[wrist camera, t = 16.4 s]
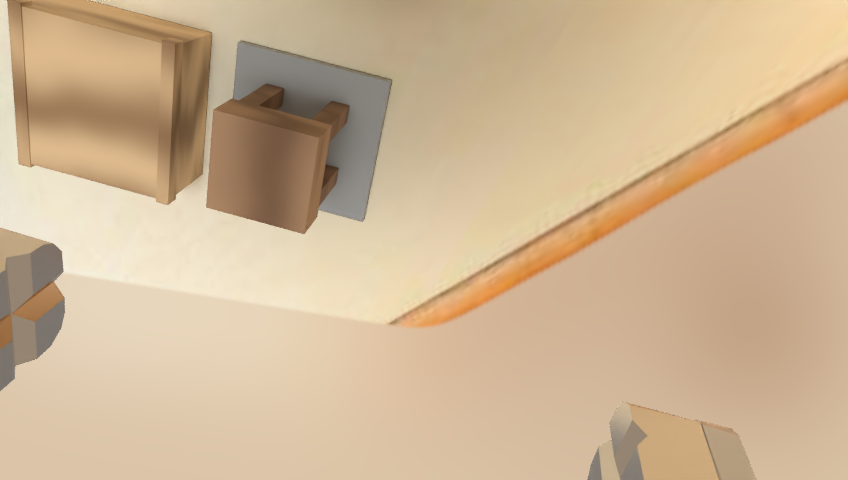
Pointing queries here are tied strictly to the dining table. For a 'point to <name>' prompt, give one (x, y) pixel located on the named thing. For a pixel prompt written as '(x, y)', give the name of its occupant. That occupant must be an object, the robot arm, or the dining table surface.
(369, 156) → the mat
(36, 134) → the tan wooden pedestal
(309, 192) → the tan pegged block
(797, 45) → the dining table surface
